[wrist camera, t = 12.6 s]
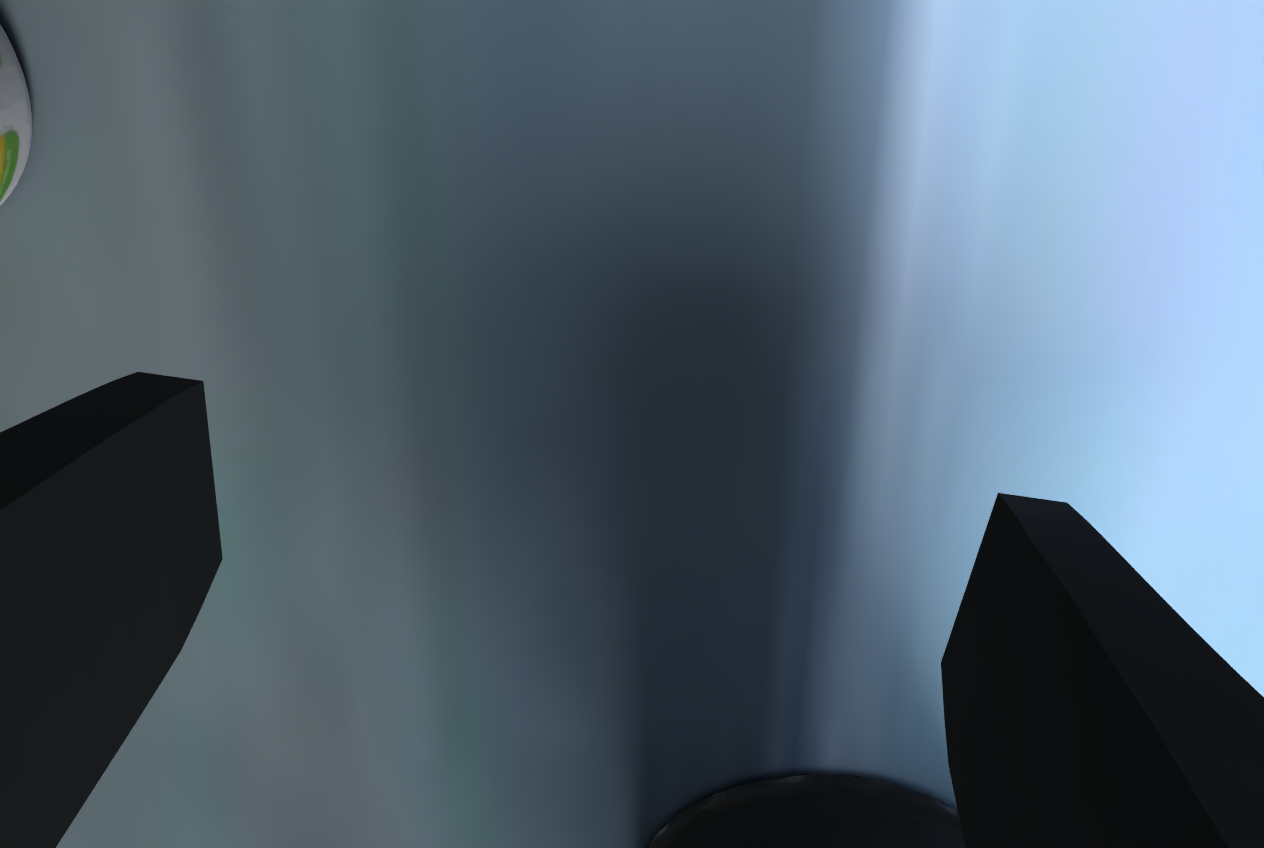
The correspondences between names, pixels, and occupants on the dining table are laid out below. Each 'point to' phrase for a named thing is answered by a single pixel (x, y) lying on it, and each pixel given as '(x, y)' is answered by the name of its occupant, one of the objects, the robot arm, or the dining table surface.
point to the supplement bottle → (12, 118)
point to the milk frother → (814, 817)
